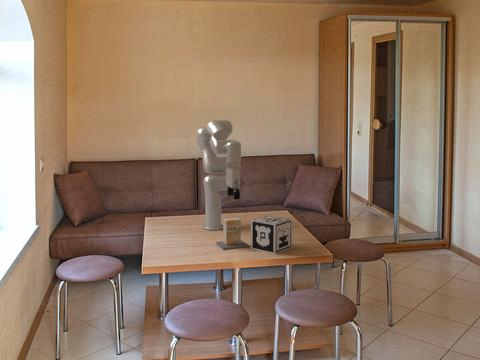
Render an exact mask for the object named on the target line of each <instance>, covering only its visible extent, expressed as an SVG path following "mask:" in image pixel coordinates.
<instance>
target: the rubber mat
mask: <svg viewBox="0 0 480 360" xmlns="http://www.w3.org/2000/svg"><path fill="white" fill-rule="evenodd" d="M215 245H217V247H219V248H221V249H222V250H223V251H224V250H234V249H243V248H250V245H249V244H248V243H247V242H245V241H243V240H242V239H241V244H232V245H226V244H224V243H223V240H222V241H216V242H215Z"/></svg>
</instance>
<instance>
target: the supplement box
mask: <svg viewBox="0 0 480 360" xmlns="http://www.w3.org/2000/svg"><path fill="white" fill-rule="evenodd" d="M222 223H223V234H222V235H223V238H222V239H223V240H222V241H223V243H224V244H226V245H232V244H241V240H242V235H241V234H242V231H241V230H242V225H241V224H242V219H240V218H238V217H235V218H234V217H233V218H223V222H222Z"/></svg>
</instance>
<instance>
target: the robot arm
mask: <svg viewBox="0 0 480 360" xmlns="http://www.w3.org/2000/svg"><path fill="white" fill-rule="evenodd" d="M232 133H233V123H232V122H231V121H230V120H227V119H219V120H217V119H215V120H210V121H209V122H208V123H207V124H206V127H201V128H199V129H198V130H197V131H196V141H197V145H198V146H199V150H200V153H201V158H202V165H203V171H204V172H205V173H206V174H209V175H206V176H205V177H204V178H203V181H202V184H203V189H204V204H205V205H204V206H205V212H204V214H205V215H204V216H205V224H203V225H202V228H203V229H204V230H209V231H218V230H222V229H223V224H222V197H221V195H220V194H219V193H218V192H220V191H222V192H223V191H227V196H228V197H231V196H232V197H233V200H234V201H235V200H240V199H241V169H242V143H241V142H240V141H238V140H237V139H228V138H229V137H230V136H231V135H232ZM217 155H226V156H217Z"/></svg>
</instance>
